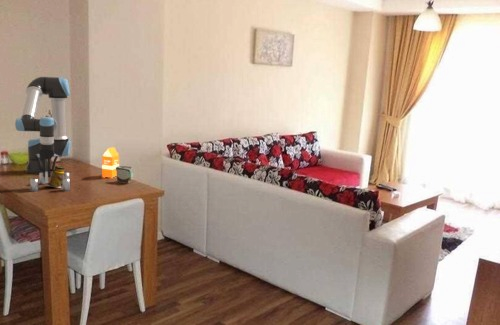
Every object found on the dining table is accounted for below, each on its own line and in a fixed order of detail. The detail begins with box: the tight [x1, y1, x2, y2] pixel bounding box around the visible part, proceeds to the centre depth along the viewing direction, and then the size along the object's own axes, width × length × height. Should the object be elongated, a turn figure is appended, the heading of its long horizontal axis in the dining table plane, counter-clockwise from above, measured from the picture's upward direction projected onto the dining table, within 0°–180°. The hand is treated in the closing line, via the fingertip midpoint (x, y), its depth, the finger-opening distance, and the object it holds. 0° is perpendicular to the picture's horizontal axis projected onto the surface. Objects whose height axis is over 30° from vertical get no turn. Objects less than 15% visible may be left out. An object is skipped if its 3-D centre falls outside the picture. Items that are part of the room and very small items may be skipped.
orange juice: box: [101, 146, 120, 179], centre depth 290 cm, size 8×9×20 cm
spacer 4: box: [61, 177, 71, 192], centre depth 250 cm, size 4×4×7 cm
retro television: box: [115, 165, 133, 185], centre depth 279 cm, size 12×6×10 cm, turn 65°
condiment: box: [45, 165, 65, 189], centre depth 255 cm, size 7×8×12 cm
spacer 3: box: [62, 171, 70, 179], centre depth 265 cm, size 4×4×7 cm
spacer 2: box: [38, 172, 47, 186], centre depth 261 cm, size 4×4×7 cm
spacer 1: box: [29, 177, 39, 193], centre depth 246 cm, size 4×4×7 cm
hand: (46, 182), depth 254 cm, fingers closed
